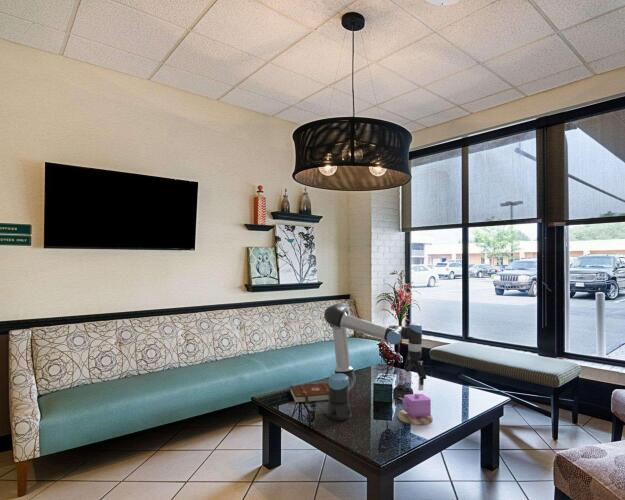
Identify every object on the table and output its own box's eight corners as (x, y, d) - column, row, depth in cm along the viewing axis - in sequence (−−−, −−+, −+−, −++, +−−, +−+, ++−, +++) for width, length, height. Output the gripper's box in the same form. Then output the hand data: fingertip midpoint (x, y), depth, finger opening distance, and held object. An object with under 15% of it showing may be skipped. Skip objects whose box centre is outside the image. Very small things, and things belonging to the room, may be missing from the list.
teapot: (425, 410, 232) (425, 390, 233) (434, 417, 222) (434, 396, 223) (395, 413, 228) (395, 392, 228) (402, 420, 218) (402, 398, 218)
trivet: (409, 427, 213) (409, 425, 213) (391, 413, 232) (391, 411, 232) (439, 422, 219) (439, 420, 219) (419, 409, 238) (419, 407, 238)
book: (342, 399, 254) (342, 392, 254) (295, 403, 247) (295, 395, 247) (332, 388, 276) (332, 381, 277) (289, 391, 269) (289, 384, 270)
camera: (412, 396, 259) (412, 381, 260) (414, 402, 250) (414, 386, 250) (392, 395, 261) (392, 380, 262) (393, 400, 252) (393, 385, 252)
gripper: (433, 355, 215) (432, 393, 215) (409, 344, 239) (408, 378, 239) (421, 356, 213) (420, 394, 213) (398, 345, 237) (397, 379, 236)
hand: (414, 386), depth 226 cm, fingers open, 13 cm apart
